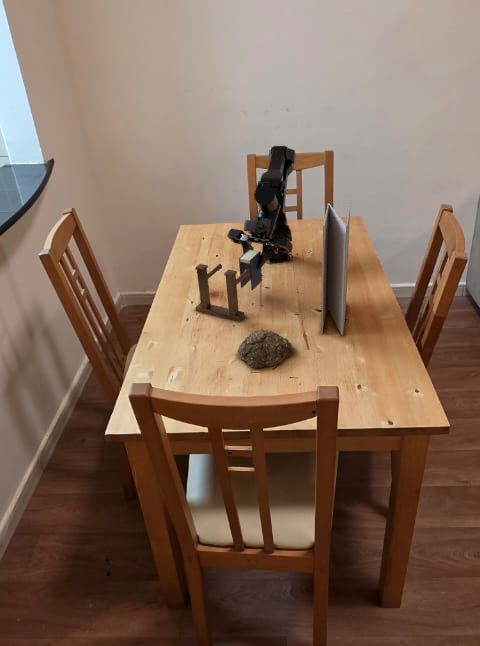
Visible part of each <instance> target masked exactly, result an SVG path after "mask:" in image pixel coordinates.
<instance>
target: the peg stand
mask: <svg viewBox="0 0 480 646" xmlns="http://www.w3.org/2000/svg"><path fill="white" fill-rule="evenodd" d="M208 268H209V265H208V264H203V263H199V264H197V266H195V267H194V269H195V270H196V275H197V276H196V277H197V284H198V291H199V293H198V294H199V301H200V303H199V304H197V305H196V306H195V311H196V312H199V313H204V314H208V315H212V316H217V317H220V318H225V319H229V320H233V321H237V322H240V321H242V319H243V318H244V317H245V315H246V314H245V311H241V310H239V299H238V286H237V285H239V284H240V283H241V282H240V281H241V280H243V279H244V278H245V277H246V276H247V275H249V274H250V270H248V269H246V270H245V271H244V273H243V274H242V275H240V274H239V276H238V277H237V274H238V271H237V270H233V269H227V270H226V271H225V272H224V274H223V276H224V277H225V285H226V296H227V307H223V306H221V305H220V306H219V305H215V304H211V294H210V286H209V280H210V278H212V276H214V275H215V274H216V273H217V272H218V271H220V270H221V269H223V265H222V263H218V264H216V266H215V267H214V268H213V269H211V270H210V271H209V272H208Z"/></svg>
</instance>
